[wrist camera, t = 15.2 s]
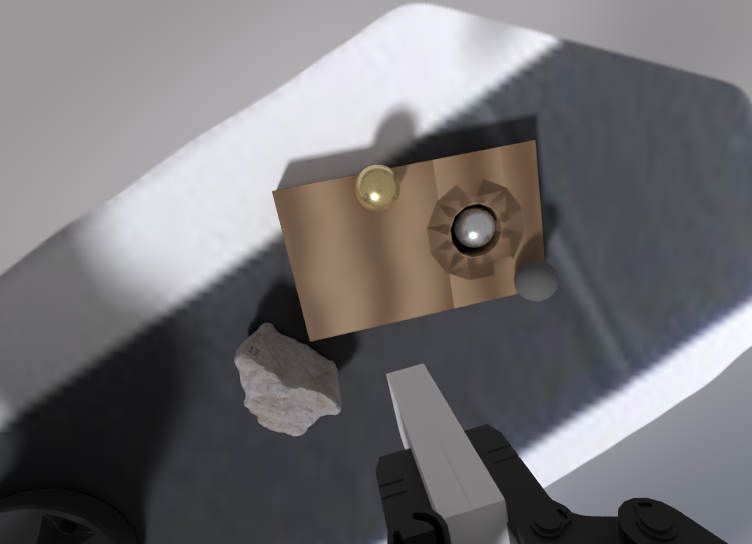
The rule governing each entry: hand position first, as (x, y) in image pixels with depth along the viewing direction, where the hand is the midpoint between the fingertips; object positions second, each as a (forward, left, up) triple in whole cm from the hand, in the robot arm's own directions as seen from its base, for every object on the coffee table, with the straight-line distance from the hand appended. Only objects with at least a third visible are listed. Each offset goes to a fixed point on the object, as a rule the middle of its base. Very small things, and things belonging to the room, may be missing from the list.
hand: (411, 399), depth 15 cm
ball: (+11, +3, -19) cm, 22 cm away
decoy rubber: (+14, -3, -16) cm, 22 cm away
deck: (+5, +2, -21) cm, 21 cm away
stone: (-9, -7, -21) cm, 24 cm away
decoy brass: (+2, +8, -16) cm, 18 cm away
